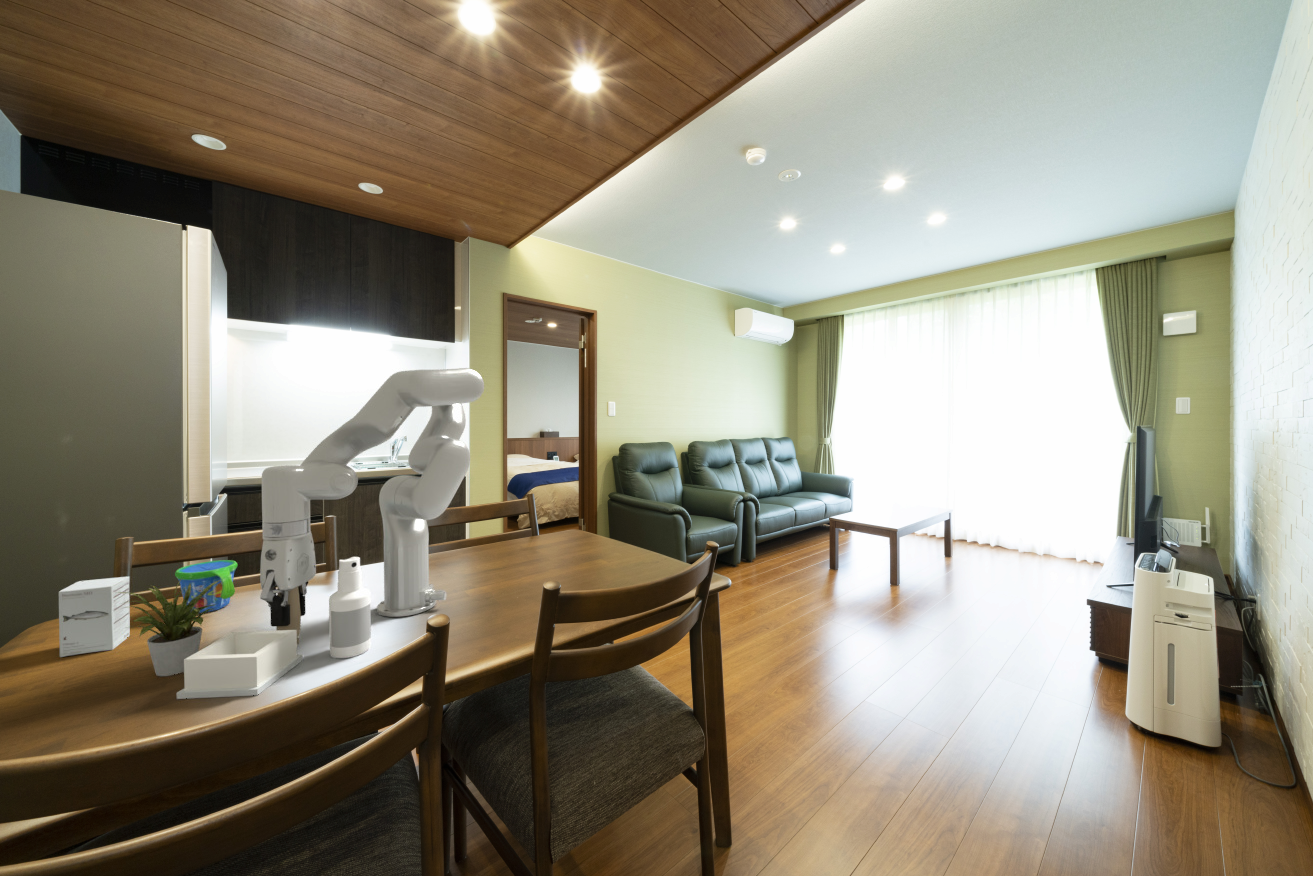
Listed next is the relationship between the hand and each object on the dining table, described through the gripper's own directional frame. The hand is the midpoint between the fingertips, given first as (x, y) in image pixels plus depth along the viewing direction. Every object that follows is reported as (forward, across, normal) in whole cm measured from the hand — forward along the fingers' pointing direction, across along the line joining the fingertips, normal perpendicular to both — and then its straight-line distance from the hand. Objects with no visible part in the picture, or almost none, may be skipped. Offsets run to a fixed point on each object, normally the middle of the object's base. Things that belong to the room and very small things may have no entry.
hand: (288, 619), depth 97 cm
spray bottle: (+5, -3, -13) cm, 14 cm away
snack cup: (+5, +22, +31) cm, 38 cm away
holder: (+5, -12, 0) cm, 13 cm away
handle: (+5, 0, 0) cm, 5 cm away
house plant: (+5, -9, +15) cm, 18 cm away
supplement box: (+6, +3, +37) cm, 38 cm away
